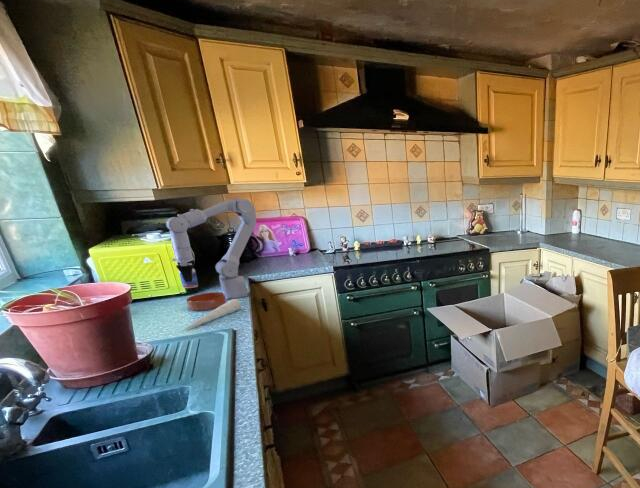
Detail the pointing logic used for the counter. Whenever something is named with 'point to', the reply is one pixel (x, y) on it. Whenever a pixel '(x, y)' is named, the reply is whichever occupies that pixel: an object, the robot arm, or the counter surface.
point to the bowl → (206, 301)
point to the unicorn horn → (218, 312)
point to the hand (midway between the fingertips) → (189, 280)
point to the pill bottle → (189, 284)
